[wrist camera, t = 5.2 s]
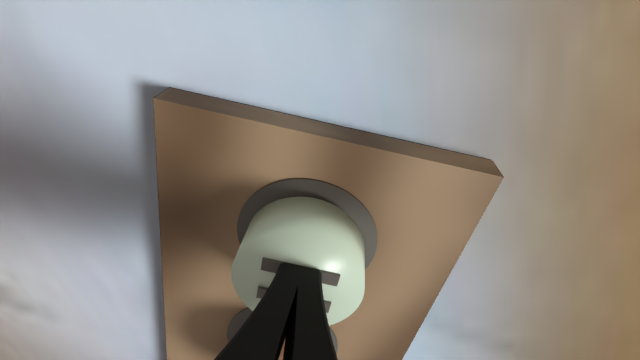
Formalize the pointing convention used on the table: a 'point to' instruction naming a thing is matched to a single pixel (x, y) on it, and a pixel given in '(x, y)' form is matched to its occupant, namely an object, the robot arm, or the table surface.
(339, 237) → the sage button
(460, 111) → the table surface
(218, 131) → the console
